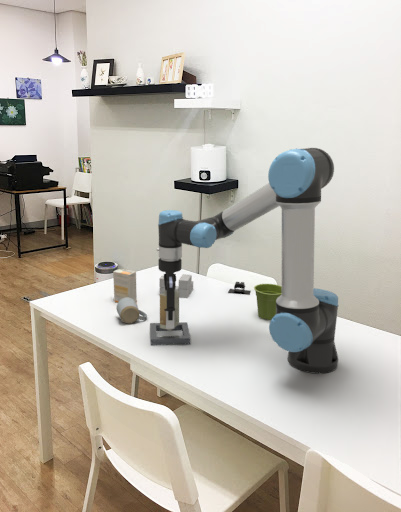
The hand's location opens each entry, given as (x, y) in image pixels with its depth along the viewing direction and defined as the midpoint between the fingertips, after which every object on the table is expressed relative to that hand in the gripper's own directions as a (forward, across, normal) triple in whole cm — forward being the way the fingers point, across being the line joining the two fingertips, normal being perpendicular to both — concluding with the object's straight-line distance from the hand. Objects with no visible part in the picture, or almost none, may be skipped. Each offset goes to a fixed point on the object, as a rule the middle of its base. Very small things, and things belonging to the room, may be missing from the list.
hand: (169, 323), depth 165 cm
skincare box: (+1, 0, 0) cm, 1 cm away
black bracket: (+6, -43, +32) cm, 54 cm away
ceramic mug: (+5, -15, -13) cm, 21 cm away
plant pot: (+5, -15, +38) cm, 41 cm away
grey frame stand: (+5, -9, 0) cm, 10 cm away
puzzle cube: (+5, -44, +5) cm, 44 cm away
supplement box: (+5, -33, -16) cm, 37 cm away
